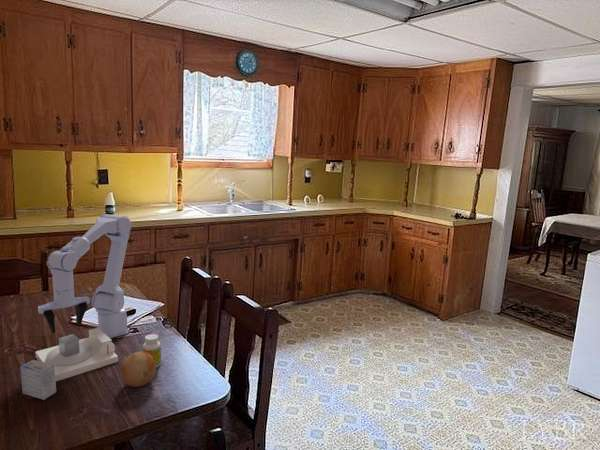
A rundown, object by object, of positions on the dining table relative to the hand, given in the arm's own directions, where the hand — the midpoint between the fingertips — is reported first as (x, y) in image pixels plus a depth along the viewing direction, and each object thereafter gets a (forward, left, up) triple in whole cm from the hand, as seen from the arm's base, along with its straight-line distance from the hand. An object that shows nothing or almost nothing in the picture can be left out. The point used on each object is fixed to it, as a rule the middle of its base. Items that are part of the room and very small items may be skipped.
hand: (66, 328), depth 140 cm
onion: (-11, +29, -11) cm, 32 cm away
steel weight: (0, +2, -7) cm, 8 cm away
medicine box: (+12, +16, -11) cm, 22 cm away
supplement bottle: (-19, +21, -11) cm, 30 cm away
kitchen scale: (-2, +3, -10) cm, 11 cm away
